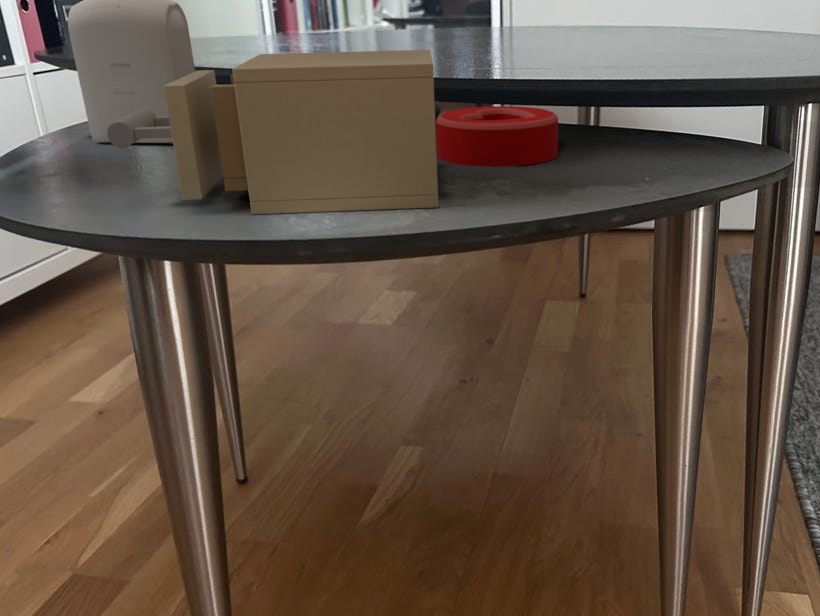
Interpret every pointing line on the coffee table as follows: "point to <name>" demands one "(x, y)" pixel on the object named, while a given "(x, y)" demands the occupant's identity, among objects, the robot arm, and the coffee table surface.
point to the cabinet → (338, 131)
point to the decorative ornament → (497, 136)
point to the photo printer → (128, 58)
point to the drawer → (194, 133)
